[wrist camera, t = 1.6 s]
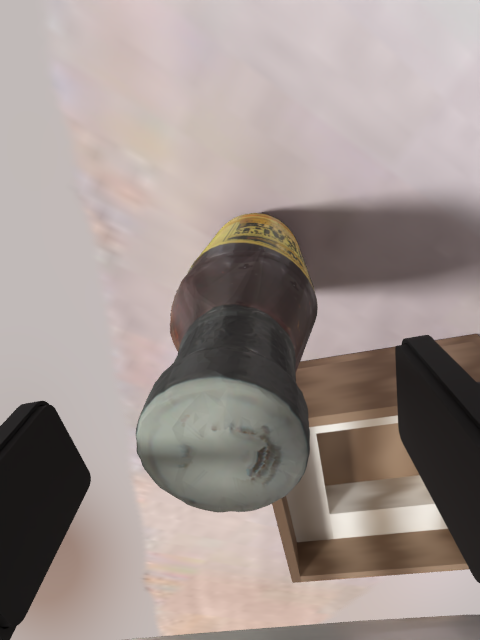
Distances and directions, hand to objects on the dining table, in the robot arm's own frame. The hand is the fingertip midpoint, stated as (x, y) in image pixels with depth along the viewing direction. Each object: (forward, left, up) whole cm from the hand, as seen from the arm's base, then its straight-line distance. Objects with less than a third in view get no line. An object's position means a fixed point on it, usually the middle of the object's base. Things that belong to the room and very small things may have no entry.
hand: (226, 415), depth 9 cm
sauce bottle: (0, 0, -18) cm, 18 cm away
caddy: (-7, +19, -18) cm, 27 cm away
